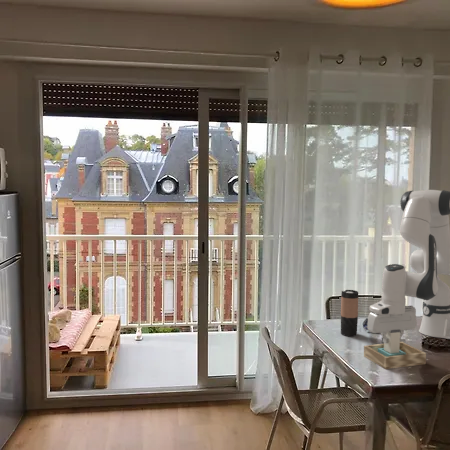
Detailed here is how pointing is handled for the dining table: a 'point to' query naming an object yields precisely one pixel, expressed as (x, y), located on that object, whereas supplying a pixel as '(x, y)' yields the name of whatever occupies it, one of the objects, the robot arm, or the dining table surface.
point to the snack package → (365, 324)
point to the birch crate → (389, 362)
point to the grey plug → (401, 340)
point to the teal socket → (385, 353)
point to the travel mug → (349, 312)
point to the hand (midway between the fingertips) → (391, 342)
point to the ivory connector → (393, 341)
